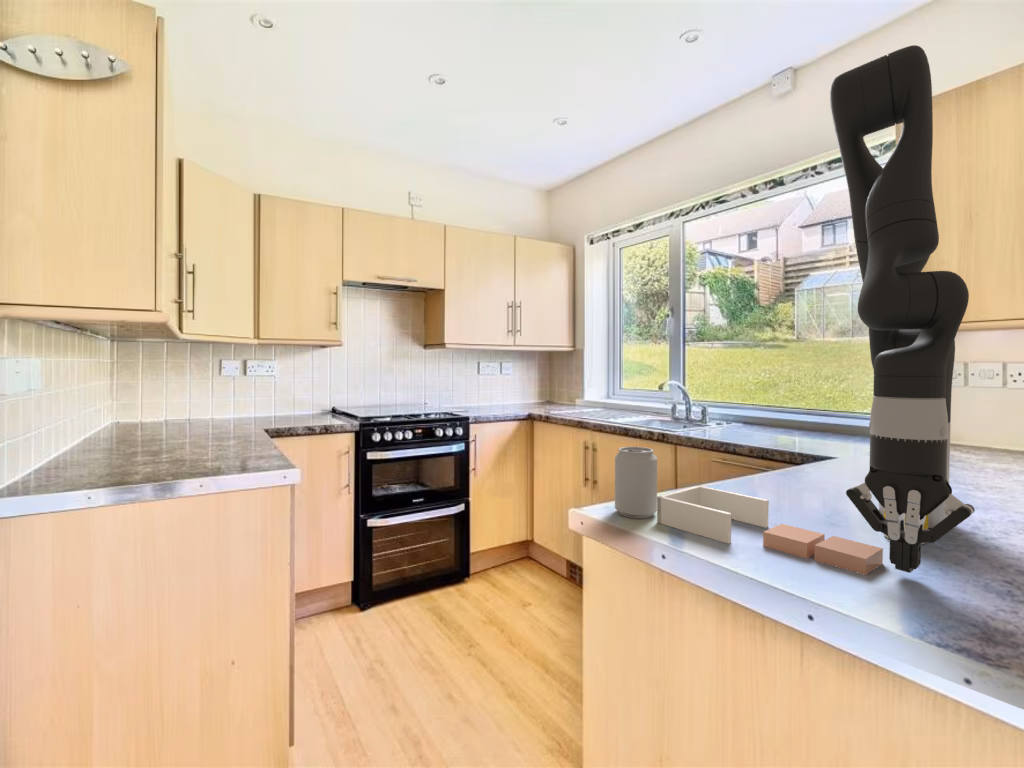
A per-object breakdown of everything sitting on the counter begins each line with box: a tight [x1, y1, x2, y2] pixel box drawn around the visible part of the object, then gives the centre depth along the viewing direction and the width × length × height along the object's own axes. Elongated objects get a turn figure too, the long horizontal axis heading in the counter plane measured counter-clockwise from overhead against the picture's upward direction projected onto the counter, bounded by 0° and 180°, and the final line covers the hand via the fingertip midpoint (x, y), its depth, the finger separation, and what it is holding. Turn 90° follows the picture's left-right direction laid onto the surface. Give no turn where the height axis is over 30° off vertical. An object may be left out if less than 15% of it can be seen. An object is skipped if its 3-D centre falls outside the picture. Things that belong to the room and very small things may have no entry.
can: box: [614, 446, 658, 519], centre depth 89 cm, size 8×8×12 cm
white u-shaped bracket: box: [656, 484, 770, 545], centre depth 82 cm, size 13×13×4 cm
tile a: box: [762, 523, 826, 559], centre depth 72 cm, size 6×6×2 cm
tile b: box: [813, 535, 884, 576], centre depth 66 cm, size 6×6×2 cm
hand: (904, 569), depth 61 cm, fingers closed
